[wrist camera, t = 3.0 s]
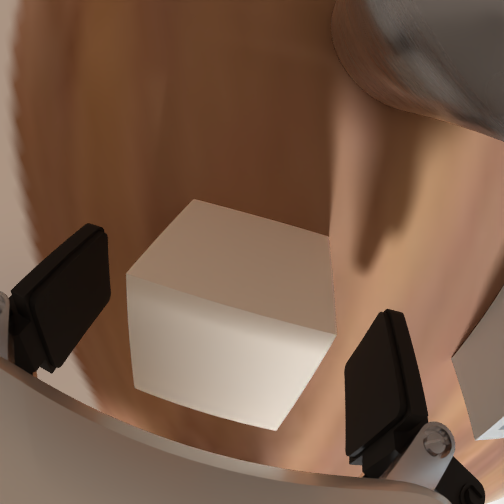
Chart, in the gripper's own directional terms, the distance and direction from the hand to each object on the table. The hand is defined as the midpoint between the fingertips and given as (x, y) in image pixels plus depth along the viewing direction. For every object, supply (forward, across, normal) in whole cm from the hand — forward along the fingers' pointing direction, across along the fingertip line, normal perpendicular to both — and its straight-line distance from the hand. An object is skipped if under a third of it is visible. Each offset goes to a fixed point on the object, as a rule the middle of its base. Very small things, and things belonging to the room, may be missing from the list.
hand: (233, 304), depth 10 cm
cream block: (+2, 0, 0) cm, 3 cm away
